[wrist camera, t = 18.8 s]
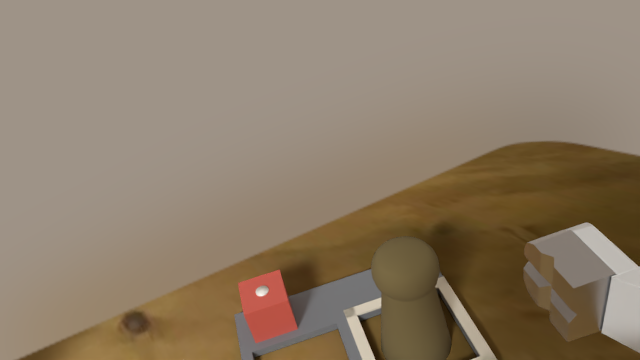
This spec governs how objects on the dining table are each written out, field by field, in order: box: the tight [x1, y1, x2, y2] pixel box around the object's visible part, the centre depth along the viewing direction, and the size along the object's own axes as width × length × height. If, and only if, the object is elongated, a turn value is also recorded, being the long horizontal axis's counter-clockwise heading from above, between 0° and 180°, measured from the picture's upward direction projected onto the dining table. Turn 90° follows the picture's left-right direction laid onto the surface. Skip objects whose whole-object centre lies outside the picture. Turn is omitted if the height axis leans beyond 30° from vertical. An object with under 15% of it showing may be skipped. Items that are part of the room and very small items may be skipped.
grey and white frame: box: [235, 269, 497, 360], centre depth 47 cm, size 20×16×1 cm
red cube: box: [238, 270, 298, 343], centre depth 49 cm, size 4×4×4 cm
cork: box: [371, 236, 451, 360], centre depth 43 cm, size 6×6×11 cm
